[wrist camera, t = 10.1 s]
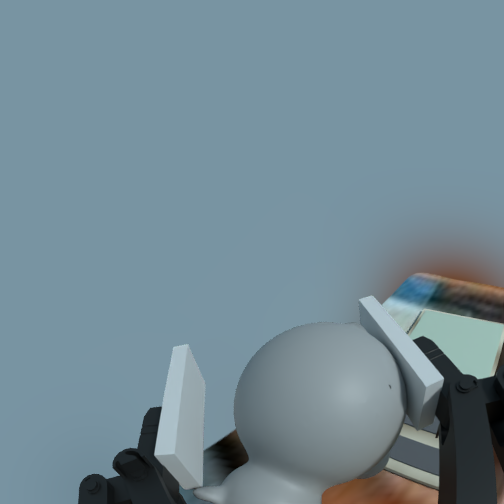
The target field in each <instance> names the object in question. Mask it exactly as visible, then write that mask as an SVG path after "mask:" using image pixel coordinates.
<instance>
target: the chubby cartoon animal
mask: <svg viewBox="0 0 504 504" xmlns="http://www.w3.org/2000/svg"><path fill="white" fill-rule="evenodd" d="M406 411H407V392H406V386H405V382H404V378H403V375H402V373H401V370H400V368H399V365H398V363H397V361H396V360H395V358H394V356H393V355H392V354H391V353H390V351H389V350H388V349H387V348H386V347H385V346H384V345H383V344H382V343H381V342H380V341H378V340H377V339H376V338H375V337H373V336H371V335H370V334H369V333H368V332H367V331H366V330H365V328H364V327H363V326H362V325H360V324H358V323H354V322H352V323H345V324H341V323H333V322H318V323H311V324H305V325H301V326H298V327H294V328H292V329H290V330H287V331H285V332H283V333H281V334H279V335H277V336H276V337H274V338H273V339H272V340H270V341H269V342H267V343H266V344H265V345H264V346H263V347H261V348H260V350H258V351H257V352H256V354H255V355H254V356H253V357H252V358H251V360H250V361H249V363H248V364H247V366H246V367H245V369H244V371H243V373H242V375H241V377H240V380H239V382H238V385H237V389H236V393H235V399H234V419H235V426H236V430H237V433H238V435H239V438H240V440H241V442H242V444H243V446H244V448H245V450H246V451H247V453H248V456H249V461H248V462H247V463H246V464H244V465H243V466H241V467H239V468H237V469H236V470H234V471H233V472H232V473H230V474H229V475H228V476H227V477H226V478H225V480H224V481H223V482H222V484H221V485H219V486H205V487H199V488H197V489H195V490H193V494H194V495H195V496H196V497H197V498H198V499H201V500H205V501H209V502H211V503H213V504H322V502H321V496H322V493H323V492H324V491H325V490H326V489H327V488H329V487H331V486H334V485H338V484H342V483H345V482H348V481H351V480H353V479H366V478H370V477H372V476H375V475H376V474H378V473H379V472H381V471H382V470H383V469H384V468H385V466H386V465H387V463H388V461H389V457H390V450H391V449H392V447H393V446H394V444H395V442H396V441H397V439H398V437H399V435H400V433H401V430H402V427H403V424H404V421H405V417H406Z"/></svg>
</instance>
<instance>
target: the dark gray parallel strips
mask: <svg viewBox="0 0 504 504" xmlns="http://www.w3.org/2000/svg"><path fill="white" fill-rule="evenodd" d="M439 423H440V421H439V420H438V418H437V417H436V415H435V418H434V422H433V424H431V425H429V426H427V427H425V428H423V429H421V430H424V431H427V432H430V433H433V434H436V432H437V429H438V426H439ZM404 424H406V425H409V426H412V427H414V425H413V424H412V422H411V420H410V419H409V417H408V415H407V414H406V417H405V421H404ZM389 458H392V459H394V460H397V461H399V462H402V463H404V464H407V465H409V466H412V467H415V468H417V469H420V470H423V471H425V472H428V473H431V474H434V475H437V476H439V449H438V448H435V447H432V446H429V445H426V444H423V443H420V442H417V441H415V440H412V439H409V438H406V437H404V436H401V435H399V437H398V439H397V441H396V442H395V444H394V446H393V447H392V449H391V450H390V457H389Z"/></svg>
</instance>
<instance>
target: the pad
mask: <svg viewBox="0 0 504 504" xmlns="http://www.w3.org/2000/svg"><path fill="white" fill-rule="evenodd" d="M503 326H504V325H502V324H496V323H491V322H485V321H480V320H475V319H470V318H464V317H459V316H454V315H449V314H444V313H439V312H434V311H429V310H426V311H425V313H424V314H423V316H422V317H421V319H420V321H419V322H418V324H417V325H416V327H415V328H414V330H413V331H412V333H411V335H410V336H409V337H410V338H411V339H412V340H414V339H416V338H419V337H421V336H424V337H426V338H429V339H431V340H432V341H433V342H434V343H435V344H436V345H437V346H438V347H439V349H441V350H442V351H443V352H444V354H445V355H446V356H447V357H448V358H449V359H450V360H451V361H452V362H453V363H454V365H455V366H456V367H457V368H458V369H459V370H460V371H461V372H462V373H463V374H469V375H472V376H475V377H476V378H477V379H483V378H487V377H490V374H491V371H492V367H493V364H494V361H495V357H496V354H497V350H498V346H499V343H500V339H501V335H502V331H503Z"/></svg>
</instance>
